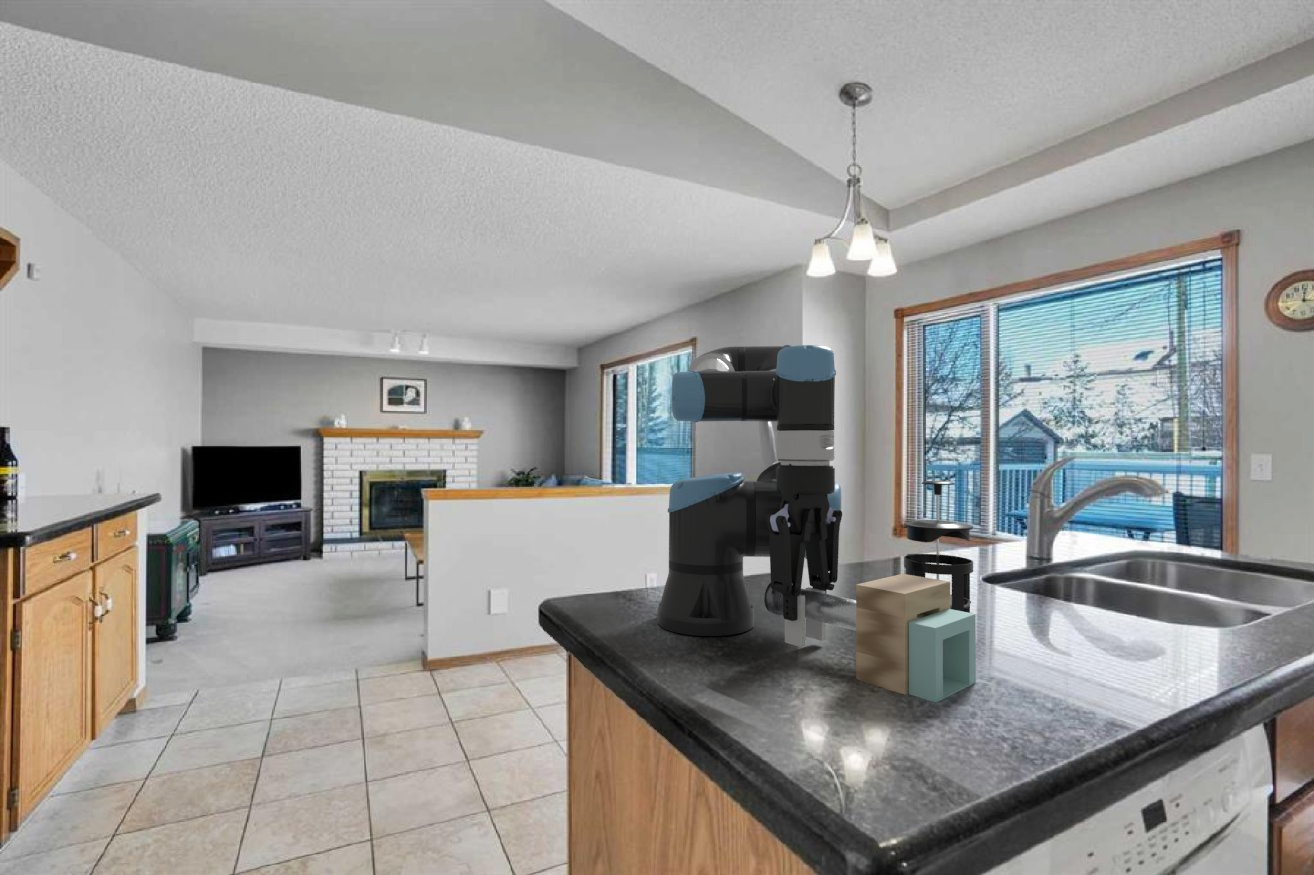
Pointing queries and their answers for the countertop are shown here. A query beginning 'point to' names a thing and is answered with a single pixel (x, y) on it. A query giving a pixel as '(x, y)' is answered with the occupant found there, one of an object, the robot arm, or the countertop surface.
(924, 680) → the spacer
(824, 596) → the shaft
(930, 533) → the french press
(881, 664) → the housing
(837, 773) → the countertop surface
